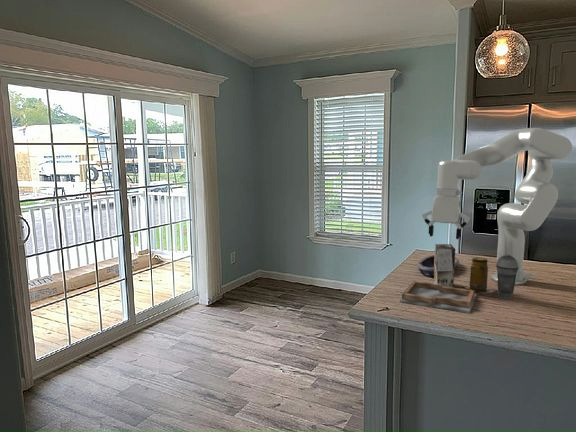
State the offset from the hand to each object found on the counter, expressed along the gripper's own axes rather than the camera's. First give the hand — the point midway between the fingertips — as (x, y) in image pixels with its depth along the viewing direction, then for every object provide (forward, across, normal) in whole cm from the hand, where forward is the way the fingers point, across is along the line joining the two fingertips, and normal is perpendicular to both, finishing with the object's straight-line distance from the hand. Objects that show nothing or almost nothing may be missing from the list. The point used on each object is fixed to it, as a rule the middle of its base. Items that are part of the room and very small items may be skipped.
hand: (444, 237), depth 166 cm
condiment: (+20, -14, -3) cm, 24 cm away
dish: (+20, +6, -25) cm, 32 cm away
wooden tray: (+20, -3, +15) cm, 25 cm away
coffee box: (+20, -1, -1) cm, 20 cm away
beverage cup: (+20, -23, +2) cm, 30 cm away
